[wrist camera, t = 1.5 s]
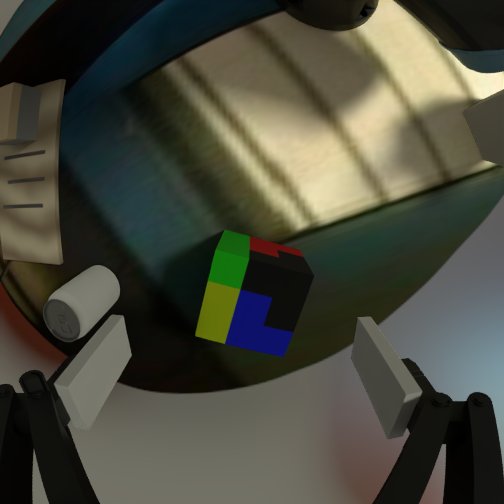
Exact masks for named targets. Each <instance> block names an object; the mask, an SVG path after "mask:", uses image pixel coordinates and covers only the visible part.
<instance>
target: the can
mask: <svg viewBox="0 0 504 504" xmlns="http://www.w3.org/2000/svg"><path fill="white" fill-rule="evenodd" d="M119 294H120V286H119V282H118V280H117V278H116V276H115V275H114V274H113V273H112V272H111V271H110V270H109V269H108V268H106V267H104V266H100V265H96V266H92V267H90V268H88V269H87V270H85V271H84V272H82V273H81V274H79V275H78V276H76V277H75V278H73V279H72V280H70V281H69V282H68V283H66V284H65V285H63V286H62V287H61V288H59V289H58V290H56V291H55V292H54V293H53V294H52V295H51V296H50V297H49V299H48V301H47V302H46V304H45V305H44V308H43V317H44V321H45V323H46V325H47V327H48V329H49V330H50V331H51V333H52V334H53V335H54V336H56V337H57V338H58V339H60V340H62V341H65V342H73V341H75V340H76V339H79V338H81V337H83V336H84V335H85V334H86V333H87V332H88V331H89V330H90V329H91V328H92V327H93V326H94V325H95V324H96V323H97V322H98V321H99V320H100V318H101V317H102V316H103V315H104V314H105V313H106V312H107V311H108V310H109V309H110V308H111V307H112V306H113V304H114V303H115V302H116V301H117V299H118V298H119Z"/></svg>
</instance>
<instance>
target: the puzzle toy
mask: <svg viewBox="0 0 504 504" xmlns="http://www.w3.org/2000/svg"><path fill="white" fill-rule="evenodd" d="M313 278H314V274H313V273H312V271H311V269H310V267H309V266H308V264H307V262H306V260H305V259H304V257H303V255H302V254H301V252H300V250H297V249H294V248H290V247H287V246H283V245H279V244H276V243H272V242H268V241H265V240H261V239H257V238H254V237H250V236H246V235H243V234H239V233H235V232H231V231H228V230H224V232H223V235H222V237H221V239H220V241H219V243H218V246H217V248H216V250H215V254H214V258H213V262H212V266H211V270H210V274H209V279H208V283H207V287H206V291H205V295H204V299H203V304H202V308H201V312H200V316H199V321H198V325H197V329H196V334H195V336H197V337H201V338H204V339H208V340H212V341H216V342H220V343H224V344H228V345H232V346H236V347H240V348H245V349H249V350H253V351H258V352H262V353H267V354H272V355H277V356H282V357H284V354H285V352H286V349H287V347H288V344H289V342H290V339H291V337H292V334H293V331H294V329H295V326H296V324H297V321H298V318H299V316H300V313H301V311H302V308H303V305H304V302H305V300H306V297H307V294H308V292H309V289H310V286H311V283H312V280H313Z"/></svg>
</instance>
